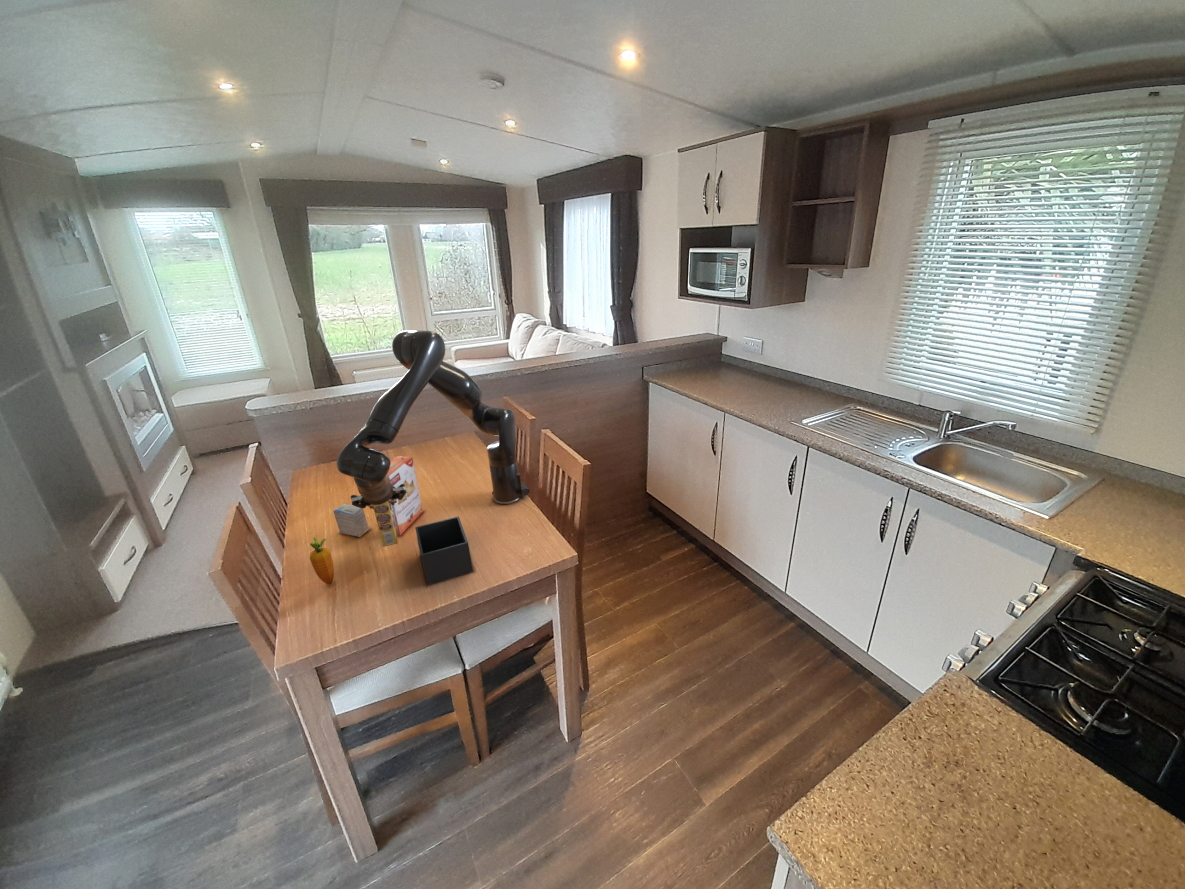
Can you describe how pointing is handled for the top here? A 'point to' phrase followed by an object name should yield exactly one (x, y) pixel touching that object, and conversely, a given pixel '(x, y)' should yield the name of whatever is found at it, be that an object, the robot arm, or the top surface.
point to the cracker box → (411, 502)
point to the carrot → (322, 561)
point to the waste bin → (444, 550)
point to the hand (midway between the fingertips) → (383, 503)
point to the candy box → (386, 523)
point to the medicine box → (351, 520)
